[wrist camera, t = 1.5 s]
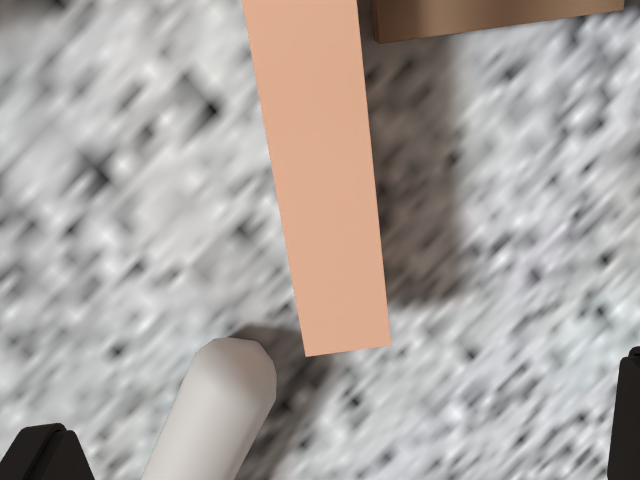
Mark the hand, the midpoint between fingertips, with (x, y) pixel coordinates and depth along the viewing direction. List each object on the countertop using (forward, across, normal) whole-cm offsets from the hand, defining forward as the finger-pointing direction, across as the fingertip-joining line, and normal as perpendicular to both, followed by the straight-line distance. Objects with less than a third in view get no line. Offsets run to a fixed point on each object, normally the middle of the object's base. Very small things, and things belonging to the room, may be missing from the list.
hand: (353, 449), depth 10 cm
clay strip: (+18, 0, 0) cm, 19 cm away
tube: (+19, +11, +19) cm, 29 cm away
